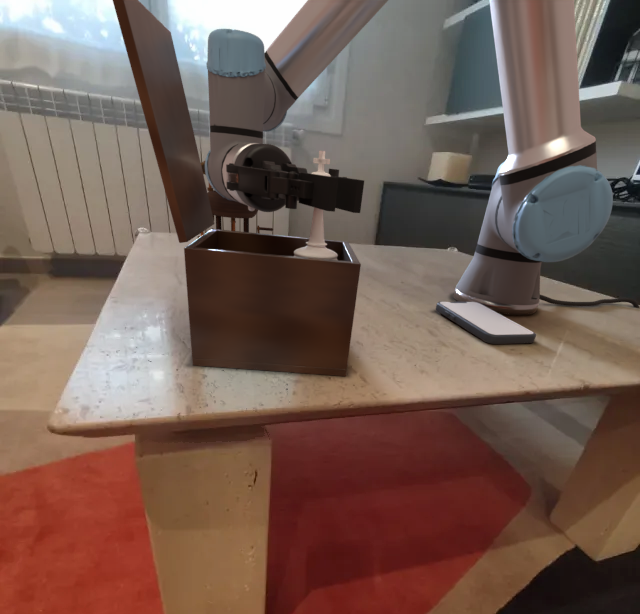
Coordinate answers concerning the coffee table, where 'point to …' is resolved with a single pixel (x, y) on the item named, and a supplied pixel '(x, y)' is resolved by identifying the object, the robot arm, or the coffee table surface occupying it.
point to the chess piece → (317, 225)
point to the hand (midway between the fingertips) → (345, 195)
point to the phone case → (485, 323)
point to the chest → (270, 303)
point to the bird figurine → (229, 210)
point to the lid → (166, 116)
